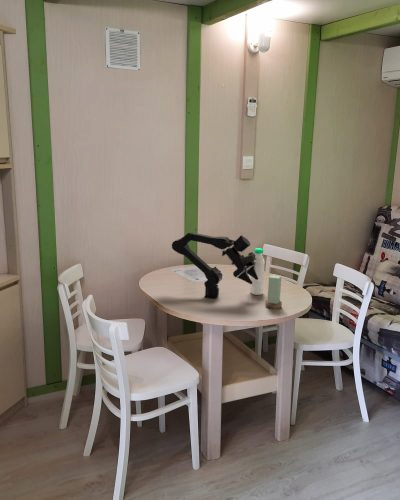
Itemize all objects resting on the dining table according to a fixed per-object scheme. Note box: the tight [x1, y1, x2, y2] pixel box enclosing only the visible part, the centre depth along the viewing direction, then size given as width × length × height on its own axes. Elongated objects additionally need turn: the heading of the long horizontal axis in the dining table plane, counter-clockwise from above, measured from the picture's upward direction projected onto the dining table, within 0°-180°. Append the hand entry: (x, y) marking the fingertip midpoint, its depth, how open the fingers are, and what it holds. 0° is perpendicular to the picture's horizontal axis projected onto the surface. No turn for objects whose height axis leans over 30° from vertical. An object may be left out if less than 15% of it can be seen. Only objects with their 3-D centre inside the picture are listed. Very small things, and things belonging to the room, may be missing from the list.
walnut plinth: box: [265, 299, 283, 310], centre depth 237 cm, size 8×8×2 cm
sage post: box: [267, 274, 282, 304], centre depth 236 cm, size 5×5×13 cm
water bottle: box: [249, 247, 266, 296], centre depth 256 cm, size 7×7×25 cm
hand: (254, 281), depth 240 cm, fingers open, 9 cm apart
